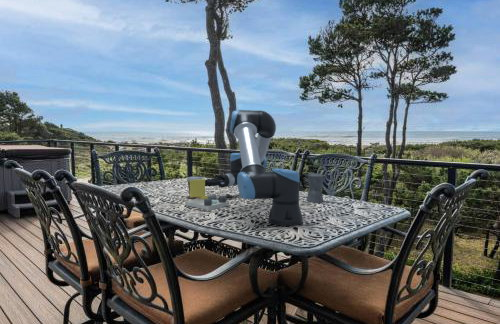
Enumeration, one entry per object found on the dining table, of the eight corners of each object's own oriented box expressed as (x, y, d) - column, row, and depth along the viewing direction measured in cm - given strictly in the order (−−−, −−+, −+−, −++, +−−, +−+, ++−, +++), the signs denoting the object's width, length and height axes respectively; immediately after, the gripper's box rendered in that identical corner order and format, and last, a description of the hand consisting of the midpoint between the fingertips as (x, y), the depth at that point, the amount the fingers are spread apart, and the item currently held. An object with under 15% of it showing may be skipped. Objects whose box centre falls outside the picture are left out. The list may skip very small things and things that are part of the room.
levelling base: (229, 205, 191) (229, 196, 190) (208, 210, 179) (208, 200, 179) (206, 201, 202) (205, 192, 202) (185, 205, 191) (185, 196, 191)
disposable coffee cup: (206, 196, 216) (206, 177, 215) (195, 199, 208) (195, 178, 207) (194, 195, 221) (194, 175, 220) (183, 197, 213) (183, 177, 212)
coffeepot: (326, 200, 207) (327, 169, 205) (327, 203, 197) (327, 171, 196) (299, 199, 209) (300, 168, 208) (298, 202, 200) (299, 170, 199)
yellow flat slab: (214, 199, 195) (214, 178, 194) (217, 201, 191) (217, 179, 190) (188, 202, 189) (188, 179, 188) (191, 203, 184) (191, 180, 183)
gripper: (233, 188, 205) (203, 193, 187) (217, 185, 214) (186, 190, 195) (233, 175, 205) (203, 179, 186) (217, 173, 213) (186, 177, 195)
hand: (194, 185), depth 191 cm, fingers closed
